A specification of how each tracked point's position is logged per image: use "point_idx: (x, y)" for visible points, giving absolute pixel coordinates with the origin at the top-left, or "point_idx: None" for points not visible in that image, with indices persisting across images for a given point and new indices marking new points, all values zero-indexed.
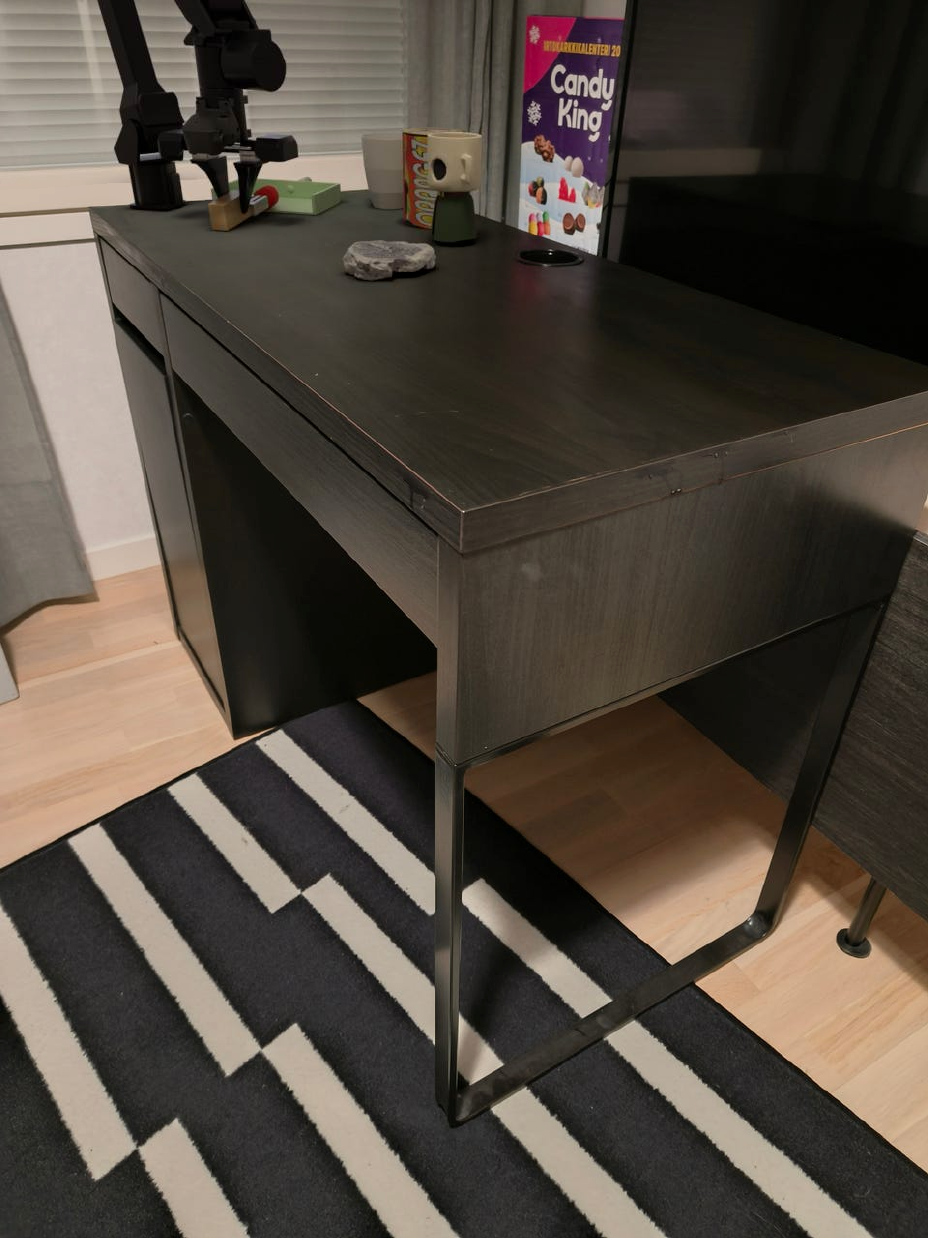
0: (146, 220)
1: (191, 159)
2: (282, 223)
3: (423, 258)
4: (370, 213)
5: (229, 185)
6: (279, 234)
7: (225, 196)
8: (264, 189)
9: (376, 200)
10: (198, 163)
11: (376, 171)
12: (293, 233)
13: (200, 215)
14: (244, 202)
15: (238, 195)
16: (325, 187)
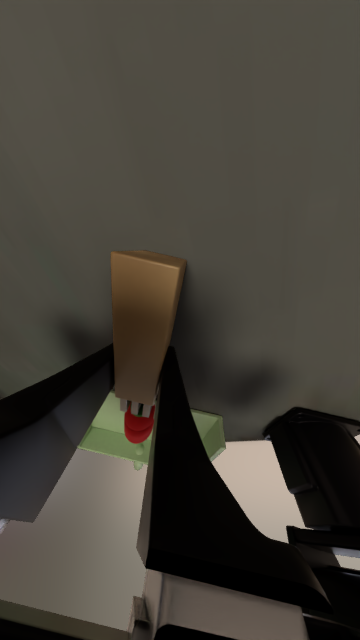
0: (352, 352)
1: (311, 603)
2: (83, 336)
3: None
4: (26, 386)
5: None
6: (18, 233)
7: (149, 358)
8: (130, 429)
9: None
10: (240, 538)
11: None
12: (2, 250)
13: (236, 384)
14: (107, 346)
15: (118, 366)
16: (96, 444)
